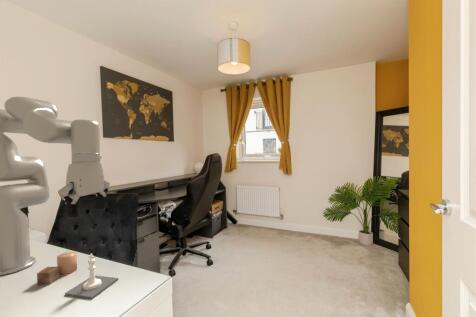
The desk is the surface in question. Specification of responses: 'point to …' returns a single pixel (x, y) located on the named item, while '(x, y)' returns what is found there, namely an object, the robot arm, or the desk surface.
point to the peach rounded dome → (67, 263)
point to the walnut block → (47, 275)
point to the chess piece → (91, 276)
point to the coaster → (91, 293)
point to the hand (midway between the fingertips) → (87, 212)
